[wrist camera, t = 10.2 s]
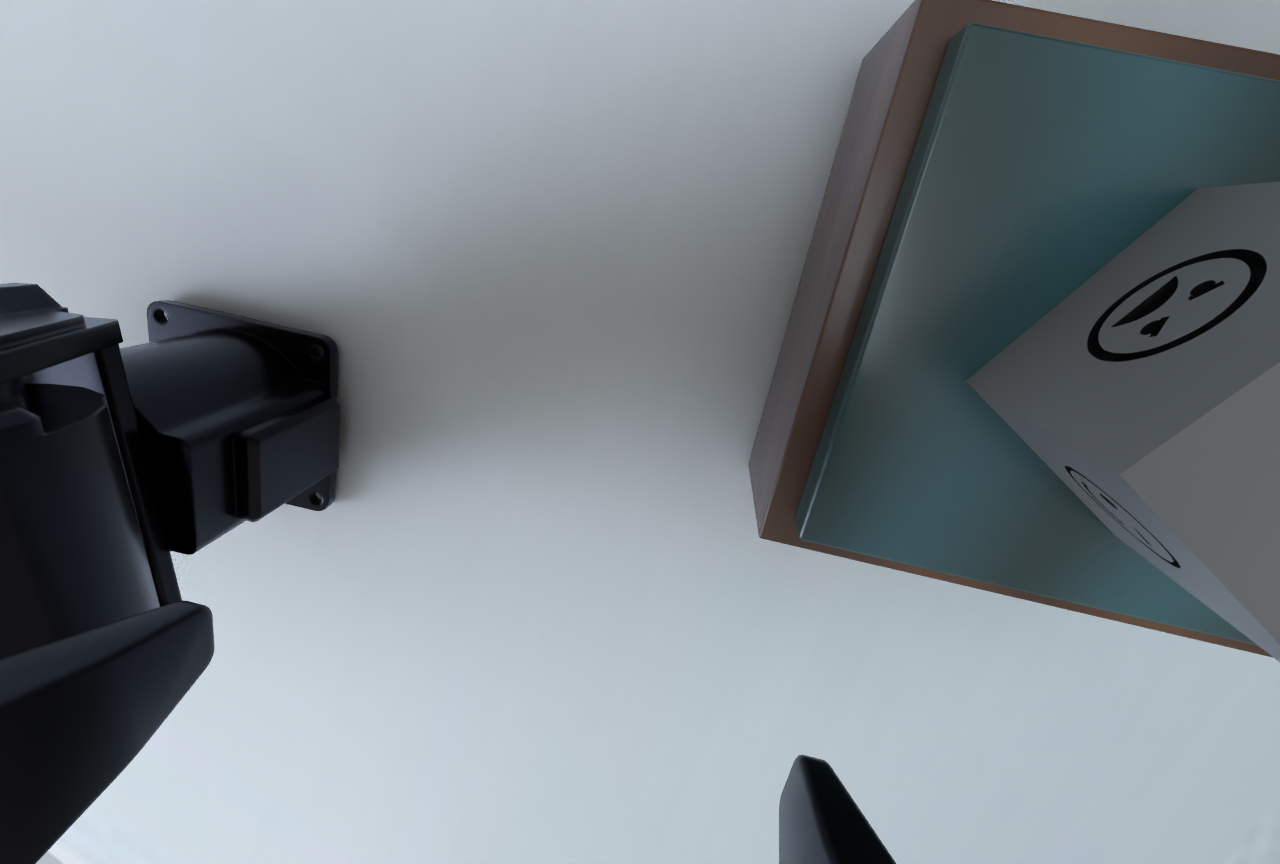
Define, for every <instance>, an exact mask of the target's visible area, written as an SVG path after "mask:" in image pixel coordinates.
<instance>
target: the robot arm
mask: <svg viewBox="0 0 1280 864" xmlns="http://www.w3.org/2000/svg"><path fill="white" fill-rule="evenodd" d="M164 311H165V313H166V314H167V316H168V320H167V319H166V318H165V315H164ZM147 320H148V331H149V343H146V344H141V345H136V346H131V347H126V348H122V349H120V348H119V344H118V343H121V342H123V339H122V335H121V331H120V327H119V323H118V320H117V319H104V318H89V317H84V316H83V315H80V314H73V313H69V312H68V308H65V307H61V306H60V305H59V304H58V303H57V302H56V301H55V300H54V299H53V298H51V297H50V296H49V295H48V294H47V293H46V292H45V291H44V290H43V289H42V288H40V287H39V286H38V285H37V284H22V283H8V284H0V864H36V862H37V861H38V860H39V859H40V858H41V857H42V856H43V855H44V854H45V853H46V852H47V851H48V850H49V849H50V848H51V847H52V846H53V845H54V843H55V842H56V841H57V840H58V839H59V838H60V837H61V836H62V835H63V834H64V833H65V832H66V831H67V830H68V829H69V828H70V826H71V825H72V824H73V823H74V822H75V821H76V820H77V819H78V818H79V817H80V816H81V815H82V814H83V813H84V812H85V810H86V809H87V808H88V807H89V806H90V805H91V804H92V803H93V802H94V801H95V800H96V799H97V798H98V797H99V796H100V795H101V793H102V792H103V791H104V790H105V789H106V788H107V787H108V786H109V785H110V784H111V783H112V782H113V781H114V780H115V779H116V778H117V776H118V775H119V774H120V773H121V772H122V771H123V770H124V769H125V768H126V766H127V765H128V764H129V763H130V762H131V761H132V760H133V758H134V757H135V756H136V755H137V754H138V753H139V751H140V750H141V749H142V748H143V747H144V745H145V744H146V743H147V742H148V740H149V739H150V738H151V737H152V735H153V734H154V733H155V732H156V730H157V729H158V728H159V727H160V725H161V724H162V723H163V722H164V720H165V719H166V718H167V717H168V715H169V714H170V713H171V712H172V710H173V709H174V708H175V706H176V705H177V704H178V703H179V701H180V700H181V699H182V698H183V696H184V695H185V694H186V693H187V691H188V690H189V689H190V688H191V686H192V685H193V684H194V683H195V681H196V680H197V679H198V678H199V676H200V675H201V674H202V673H203V671H204V670H205V669H206V667H207V666H208V665H209V663H210V661H211V659H212V656H213V653H214V634H213V618H212V612H211V610H210V609H209V607H207V606H205V605H201V604H197V603H193V602H189V601H182V599H181V595H180V590H179V586H178V582H177V578H176V574H175V570H174V566H173V562H172V558H171V554H170V551H175V552H179V553H183V554H193V553H195V552H197V551H198V550H200V549H201V548H203V547H205V546H206V545H208V544H209V543H211V542H213V541H214V540H216V539H217V538H219V537H221V536H222V535H224V534H225V533H227V532H228V531H230V530H232V529H233V528H235V527H236V526H238V525H240V524H241V523H243V522H244V521H251V522H256V521H258V520H260V519H261V518H263V517H264V516H266V515H267V514H269V513H270V512H272V511H273V510H275V509H277V508H278V507H280V506H281V505H283V504H284V503H286V504H290V505H294V506H298V507H302V508H306V509H311V510H315V511H321V510H324V509H326V508H327V507H328V506H330V505H331V504H332V503H333V502H334V500H335V483H336V470H337V469H338V467H339V433H340V405H339V402H338V400H337V391H338V348H337V345H336V344H335V342H334V341H333V340H332V339H331V338H330V337H328V336H325V335H321V334H317V333H313V332H308V331H304V330H299V329H295V328H290V327H286V326H281V325H277V324H273V323H268V322H264V321H259V320H255V319H250V318H246V317H241V316H237V315H233V314H228V313H224V312H219V311H215V310H210V309H206V308H201V307H197V306H192V305H188V304H184V303H179V302H175V301H170V300H164V301H156V302H153V303H151V304H150V305H149V306H148V308H147ZM318 345H319V346H321V347H322V349H323V350H324V356H321V355H320V354H319V353H318V350H317V346H318ZM316 493H318V494H320V496H321V497H322V500H321V499H319V498H318V497H317V496H316ZM779 864H896V863H895V861H894V860H893V858H892V857H891V855H890V854H889V852H888V851H887V849H886V848H885V846H884V845H883V843H882V842H881V840H880V839H879V837H878V836H877V834H876V833H875V831H874V830H873V828H872V827H871V825H870V824H869V823H868V821H867V820H866V818H865V817H864V815H863V814H862V812H861V811H860V809H859V808H858V806H857V805H856V803H855V802H854V800H853V799H852V797H851V796H850V794H849V793H848V791H847V790H846V788H845V787H844V785H843V784H842V783H841V781H840V780H839V778H838V777H837V775H836V774H835V772H834V771H833V769H832V768H831V766H830V765H829V764H828V763H827V762H826V761H824V760H821V759H817V758H813V757H809V756H805V755H799V756H798V757H797V758H796V759H795V761H794V763H793V766H792V768H791V771H790V773H789V776H788V779H787V781H786V784H785V786H784V789H783V792H782V795H781V799H780V806H779Z"/></svg>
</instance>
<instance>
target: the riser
mask: <svg viewBox="0 0 1280 864" xmlns="http://www.w3.org/2000/svg"><path fill="white" fill-rule="evenodd" d="M1268 182H1280V55H1278V54H1273V53H1267V52H1262V51H1257V50H1251V49H1246V48H1241V47H1235V46H1230V45H1225V44H1220V43H1214V42H1209V41H1204V40H1198V39H1193V38H1188V37H1182V36H1177V35H1172V34H1167V33H1161V32H1156V31H1151V30H1145V29H1140V28H1135V27H1129V26H1124V25H1119V24H1113V23H1108V22H1103V21H1098V20H1092V19H1087V18H1082V17H1076V16H1071V15H1066V14H1060V13H1055V12H1050V11H1045V10H1039V9H1034V8H1029V7H1023V6H1018V5H1013V4H1007V3H1002V2H997V1H992V0H915V1H914V2H913V3H912V5H911V6H910V7H909V8H908V9H907V10H906V11H905V12H904V14H903V15H902V16H901V17H900V18H899V19H898V20H897V21H896V23H895V24H894V25H893V26H892V27H891V28H890V29H889V30H888V32H887V33H886V34H885V35H884V36H883V37H882V38H881V39H880V41H879V42H878V43H877V44H876V45H875V46H874V47H873V48H872V50H871V51H870V52H869V53H868V54H867V55H866V56H865V57H864V59H863V61H862V64H861V68H860V71H859V75H858V78H857V82H856V85H855V89H854V92H853V96H852V100H851V103H850V107H849V110H848V114H847V117H846V121H845V124H844V128H843V131H842V135H841V138H840V142H839V146H838V149H837V153H836V156H835V160H834V163H833V167H832V170H831V174H830V177H829V181H828V184H827V188H826V192H825V195H824V199H823V202H822V206H821V209H820V213H819V216H818V220H817V223H816V227H815V230H814V234H813V238H812V241H811V245H810V248H809V252H808V255H807V259H806V262H805V266H804V269H803V273H802V276H801V280H800V284H799V287H798V291H797V294H796V298H795V301H794V305H793V308H792V312H791V315H790V319H789V322H788V326H787V330H786V333H785V337H784V340H783V344H782V347H781V351H780V354H779V358H778V361H777V365H776V368H775V372H774V376H773V379H772V383H771V386H770V390H769V393H768V397H767V400H766V404H765V407H764V411H763V414H762V418H761V422H760V425H759V429H758V432H757V436H756V439H755V443H754V446H753V450H752V453H751V457H750V460H749V471H750V478H751V485H752V492H753V498H754V505H755V512H756V519H757V526H758V533H759V537H760V538H762V539H767V540H771V541H775V542H780V543H784V544H788V545H792V546H797V547H801V548H805V549H810V550H814V551H818V552H822V553H827V554H831V555H835V556H840V557H844V558H848V559H853V560H857V561H861V562H865V563H870V564H874V565H878V566H883V567H887V568H891V569H896V570H900V571H904V572H908V573H913V574H917V575H921V576H926V577H930V578H934V579H938V580H943V581H947V582H951V583H956V584H960V585H964V586H969V587H973V588H977V589H981V590H986V591H990V592H994V593H999V594H1003V595H1007V596H1012V597H1016V598H1020V599H1024V600H1029V601H1033V602H1037V603H1042V604H1046V605H1050V606H1054V607H1059V608H1063V609H1067V610H1072V611H1076V612H1080V613H1085V614H1089V615H1093V616H1097V617H1102V618H1106V619H1110V620H1115V621H1119V622H1123V623H1128V624H1132V625H1136V626H1140V627H1145V628H1149V629H1153V630H1158V631H1162V632H1166V633H1170V634H1175V635H1179V636H1183V637H1188V638H1192V639H1196V640H1201V641H1205V642H1209V643H1213V644H1218V645H1222V646H1226V647H1231V648H1235V649H1239V650H1244V651H1248V652H1252V653H1256V654H1261V655H1265V656H1269V657H1272V656H1271V655H1270V654H1269V653H1267V652H1266V651H1265V650H1263V649H1262V648H1261V647H1259V646H1258V645H1257V644H1256V643H1254V642H1253V641H1252V640H1250V639H1249V638H1248V637H1246V636H1245V635H1244V634H1243V633H1241V632H1240V631H1239V630H1237V629H1236V628H1235V627H1233V626H1232V625H1231V624H1229V623H1228V622H1227V621H1226V620H1224V619H1223V618H1222V617H1220V616H1219V615H1218V614H1216V613H1215V612H1214V611H1213V610H1211V609H1210V608H1209V607H1207V606H1206V605H1205V604H1203V603H1202V602H1201V601H1200V600H1198V599H1197V598H1196V597H1194V596H1193V595H1192V594H1190V593H1189V592H1188V591H1187V590H1185V589H1184V588H1183V587H1181V586H1180V585H1179V584H1177V583H1176V582H1175V581H1174V580H1172V579H1171V578H1170V577H1168V576H1167V575H1166V574H1164V573H1163V572H1162V571H1161V570H1159V569H1158V568H1157V567H1155V566H1154V565H1153V564H1151V563H1150V562H1149V561H1147V560H1146V559H1145V558H1144V557H1142V556H1141V555H1140V554H1138V553H1137V552H1136V551H1134V550H1133V549H1132V548H1131V547H1129V546H1128V545H1127V544H1125V543H1124V542H1123V541H1121V540H1120V539H1119V538H1118V537H1116V536H1115V535H1114V534H1113V533H1112V532H1111V531H1110V530H1109V529H1108V528H1107V527H1106V526H1105V525H1104V524H1103V522H1102V521H1101V520H1100V519H1099V518H1098V517H1097V516H1096V515H1095V514H1094V513H1093V512H1092V511H1091V510H1090V509H1089V508H1088V507H1087V506H1086V505H1085V504H1084V503H1083V502H1082V501H1081V500H1080V499H1079V498H1078V497H1077V496H1076V495H1075V493H1074V492H1073V491H1072V490H1071V489H1070V488H1069V487H1068V486H1067V485H1066V484H1065V483H1064V482H1063V481H1062V480H1061V479H1060V478H1059V477H1058V476H1057V475H1056V474H1055V473H1054V472H1053V471H1052V470H1051V469H1050V468H1049V467H1048V466H1047V465H1046V463H1045V462H1044V461H1043V460H1042V459H1041V458H1040V457H1039V456H1038V455H1037V454H1036V453H1035V452H1034V451H1033V450H1032V449H1031V448H1030V447H1029V446H1028V445H1027V444H1026V443H1025V442H1024V441H1023V440H1022V439H1021V438H1020V437H1019V436H1018V435H1017V433H1016V432H1015V431H1014V430H1013V429H1012V428H1011V427H1010V426H1009V425H1008V424H1007V423H1006V422H1005V421H1004V420H1003V419H1002V418H1001V417H1000V416H999V415H998V414H997V413H996V412H995V411H994V410H993V409H992V408H991V407H990V406H989V404H988V403H987V402H986V401H985V400H984V399H983V398H982V397H981V396H980V395H979V394H978V393H977V392H976V391H975V390H974V389H973V388H972V387H971V386H970V385H969V384H968V383H967V382H966V380H967V379H968V378H970V377H971V376H972V375H973V374H974V373H976V372H977V371H978V370H979V369H980V368H982V367H983V366H984V365H985V364H987V363H988V362H989V361H990V360H991V359H993V358H994V357H995V356H996V355H997V354H999V353H1000V352H1001V351H1002V350H1003V349H1005V348H1006V347H1007V346H1008V345H1009V344H1011V343H1012V342H1013V341H1014V340H1015V339H1017V338H1018V337H1019V336H1020V335H1021V334H1023V333H1024V332H1025V331H1026V330H1028V329H1029V328H1030V327H1031V326H1032V325H1034V324H1035V323H1036V322H1037V321H1038V320H1040V319H1041V318H1042V317H1043V316H1044V315H1046V314H1047V313H1048V312H1049V311H1050V310H1052V309H1053V308H1054V307H1055V306H1056V305H1058V304H1059V303H1060V302H1061V301H1062V300H1064V299H1065V298H1066V297H1067V296H1069V295H1070V294H1071V293H1072V292H1073V291H1075V290H1076V289H1077V288H1078V287H1079V286H1081V285H1082V284H1083V283H1084V282H1085V281H1087V280H1088V279H1089V278H1090V277H1091V276H1093V275H1094V274H1095V273H1096V272H1097V271H1099V270H1100V269H1101V268H1102V267H1104V266H1105V265H1106V264H1107V263H1108V262H1110V261H1111V260H1112V259H1113V258H1114V257H1116V256H1117V255H1118V254H1119V253H1120V252H1122V251H1123V250H1124V249H1125V248H1126V247H1128V246H1129V245H1130V244H1131V243H1132V242H1134V241H1135V240H1136V239H1137V238H1138V237H1140V236H1141V235H1142V234H1143V233H1145V232H1146V231H1147V230H1148V229H1149V228H1151V227H1152V226H1153V225H1154V224H1155V223H1157V222H1158V221H1159V220H1160V219H1161V218H1163V217H1164V216H1165V215H1166V214H1167V213H1169V212H1170V211H1171V210H1172V209H1173V208H1175V207H1176V206H1177V205H1178V204H1179V203H1181V202H1182V201H1183V200H1184V199H1186V198H1187V197H1188V196H1189V195H1190V194H1192V193H1193V192H1194V191H1195V190H1196V189H1198V188H1206V187H1218V186H1231V185H1243V184H1256V183H1268Z"/></svg>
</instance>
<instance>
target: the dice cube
mask: <svg viewBox="0 0 1280 864" xmlns="http://www.w3.org/2000/svg"><path fill="white" fill-rule="evenodd" d="M966 382H967V383H968V384H969V385H970V386H971V387H972V388H973V389H974V390H975V391H976V392H977V393H978V394H979V395H980V396H981V397H982V398H983V399H984V400H985V401H986V402H987V403H988V404H989V406H990V407H991V408H992V409H993V410H994V411H995V412H996V413H997V414H998V415H999V416H1000V417H1001V418H1002V419H1003V420H1004V421H1005V422H1006V423H1007V424H1008V425H1009V426H1010V427H1011V428H1012V429H1013V430H1014V431H1015V432H1016V433H1017V435H1018V436H1019V437H1020V438H1021V439H1022V440H1023V441H1024V442H1025V443H1026V444H1027V445H1028V446H1029V447H1030V448H1031V449H1032V450H1033V451H1034V452H1035V453H1036V454H1037V455H1038V456H1039V457H1040V458H1041V459H1042V460H1043V461H1044V462H1045V463H1046V465H1047V466H1048V467H1049V468H1050V469H1051V470H1052V471H1053V472H1054V473H1055V474H1056V475H1057V476H1058V477H1059V478H1060V479H1061V480H1062V481H1063V482H1064V483H1065V484H1066V485H1067V486H1068V487H1069V488H1070V489H1071V490H1072V491H1073V492H1074V493H1075V495H1076V496H1077V497H1078V498H1079V499H1080V500H1081V501H1082V502H1083V503H1084V504H1085V505H1086V506H1087V507H1088V508H1089V509H1090V510H1091V511H1092V512H1093V513H1094V514H1095V515H1096V516H1097V517H1098V518H1099V519H1100V520H1101V521H1102V522H1103V524H1104V525H1105V526H1106V527H1107V528H1108V529H1109V530H1110V531H1111V532H1112V533H1113V534H1114V535H1115V536H1116V537H1118V538H1119V539H1120V540H1121V541H1123V542H1124V543H1125V544H1127V545H1128V546H1129V547H1131V548H1132V549H1133V550H1134V551H1136V552H1137V553H1138V554H1140V555H1141V556H1142V557H1144V558H1145V559H1146V560H1147V561H1149V562H1150V563H1151V564H1153V565H1154V566H1155V567H1157V568H1158V569H1159V570H1161V571H1162V572H1163V573H1164V574H1166V575H1167V576H1168V577H1170V578H1171V579H1172V580H1174V581H1175V582H1176V583H1177V584H1179V585H1180V586H1181V587H1183V588H1184V589H1185V590H1187V591H1188V592H1189V593H1190V594H1192V595H1193V596H1194V597H1196V598H1197V599H1198V600H1200V601H1201V602H1202V603H1203V604H1205V605H1206V606H1207V607H1209V608H1210V609H1211V610H1213V611H1214V612H1215V613H1216V614H1218V615H1219V616H1220V617H1222V618H1223V619H1224V620H1226V621H1227V622H1228V623H1229V624H1231V625H1232V626H1233V627H1235V628H1236V629H1237V630H1239V631H1240V632H1241V633H1243V634H1244V635H1245V636H1246V637H1248V638H1249V639H1250V640H1252V641H1253V642H1254V643H1256V644H1257V645H1258V646H1259V647H1261V648H1262V649H1263V650H1265V651H1266V652H1267V653H1269V654H1270V655H1271V656H1272V657H1274V658H1275V659H1276V660H1278V661H1279V662H1280V182H1268V183H1256V184H1243V185H1231V186H1218V187H1206V188H1198V189H1196V190H1195V191H1194V192H1193V193H1192V194H1190V195H1189V196H1188V197H1187V198H1186V199H1184V200H1183V201H1182V202H1181V203H1179V204H1178V205H1177V206H1176V207H1175V208H1173V209H1172V210H1171V211H1170V212H1169V213H1167V214H1166V215H1165V216H1164V217H1163V218H1161V219H1160V220H1159V221H1158V222H1157V223H1155V224H1154V225H1153V226H1152V227H1151V228H1149V229H1148V230H1147V231H1146V232H1145V233H1143V234H1142V235H1141V236H1140V237H1138V238H1137V239H1136V240H1135V241H1134V242H1132V243H1131V244H1130V245H1129V246H1128V247H1126V248H1125V249H1124V250H1123V251H1122V252H1120V253H1119V254H1118V255H1117V256H1116V257H1114V258H1113V259H1112V260H1111V261H1110V262H1108V263H1107V264H1106V265H1105V266H1104V267H1102V268H1101V269H1100V270H1099V271H1097V272H1096V273H1095V274H1094V275H1093V276H1091V277H1090V278H1089V279H1088V280H1087V281H1085V282H1084V283H1083V284H1082V285H1081V286H1079V287H1078V288H1077V289H1076V290H1075V291H1073V292H1072V293H1071V294H1070V295H1069V296H1067V297H1066V298H1065V299H1064V300H1062V301H1061V302H1060V303H1059V304H1058V305H1056V306H1055V307H1054V308H1053V309H1052V310H1050V311H1049V312H1048V313H1047V314H1046V315H1044V316H1043V317H1042V318H1041V319H1040V320H1038V321H1037V322H1036V323H1035V324H1034V325H1032V326H1031V327H1030V328H1029V329H1028V330H1026V331H1025V332H1024V333H1023V334H1021V335H1020V336H1019V337H1018V338H1017V339H1015V340H1014V341H1013V342H1012V343H1011V344H1009V345H1008V346H1007V347H1006V348H1005V349H1003V350H1002V351H1001V352H1000V353H999V354H997V355H996V356H995V357H994V358H993V359H991V360H990V361H989V362H988V363H987V364H985V365H984V366H983V367H982V368H980V369H979V370H978V371H977V372H976V373H974V374H973V375H972V376H971V377H970V378H968V379H967V380H966Z"/></svg>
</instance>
